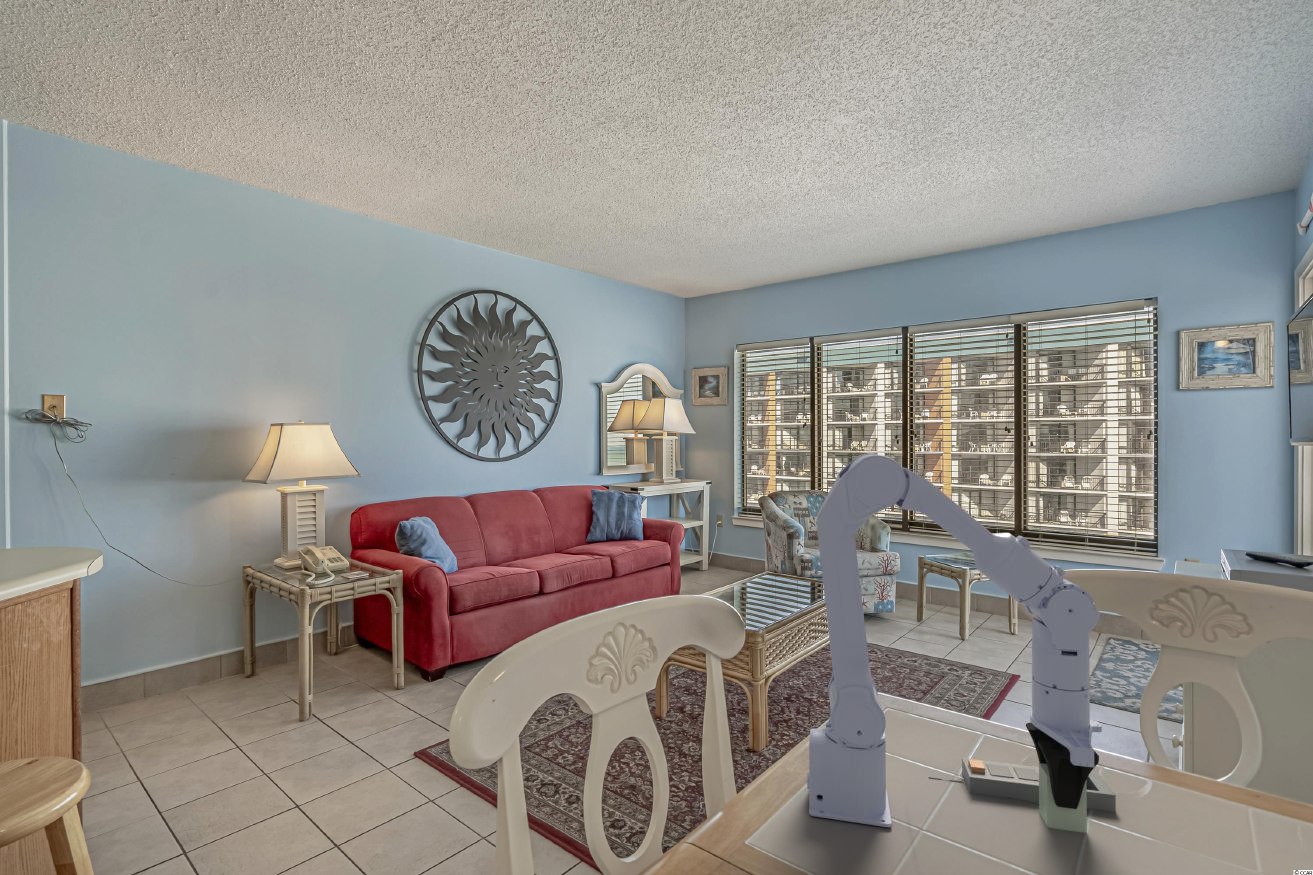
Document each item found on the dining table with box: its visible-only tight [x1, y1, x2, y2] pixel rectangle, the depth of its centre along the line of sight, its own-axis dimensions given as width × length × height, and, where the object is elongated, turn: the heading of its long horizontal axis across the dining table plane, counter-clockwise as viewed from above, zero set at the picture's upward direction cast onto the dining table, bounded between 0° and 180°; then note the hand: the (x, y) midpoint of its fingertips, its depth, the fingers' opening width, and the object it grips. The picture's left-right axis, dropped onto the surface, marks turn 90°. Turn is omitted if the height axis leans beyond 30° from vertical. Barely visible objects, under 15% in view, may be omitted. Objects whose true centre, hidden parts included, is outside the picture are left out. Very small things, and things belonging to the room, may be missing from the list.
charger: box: [1038, 762, 1088, 834], centre depth 75 cm, size 4×3×7 cm
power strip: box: [928, 757, 1117, 813], centre depth 82 cm, size 20×5×4 cm, turn 74°
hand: (1060, 797), depth 75 cm, fingers closed on charger, 3 cm apart
